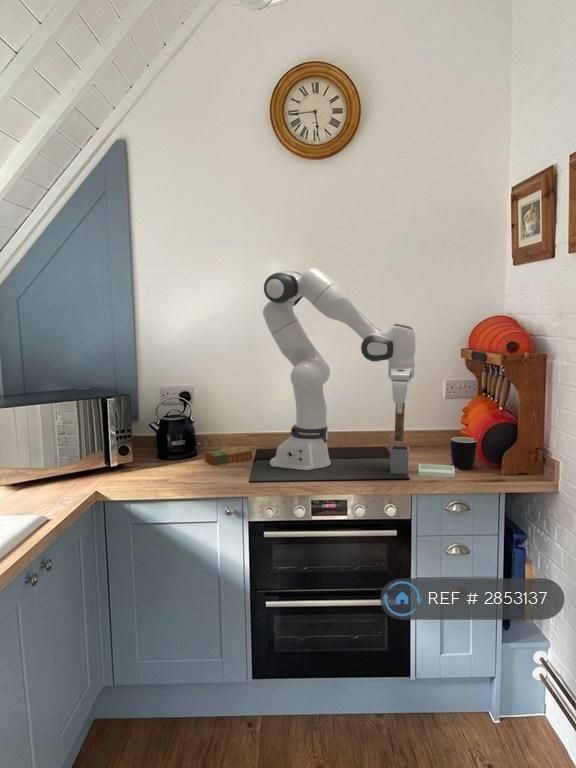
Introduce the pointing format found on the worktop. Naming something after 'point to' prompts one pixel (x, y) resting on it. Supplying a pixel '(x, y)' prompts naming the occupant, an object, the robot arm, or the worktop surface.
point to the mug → (463, 452)
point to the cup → (399, 460)
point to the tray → (436, 470)
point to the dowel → (399, 424)
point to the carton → (228, 455)
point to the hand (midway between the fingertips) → (399, 411)
